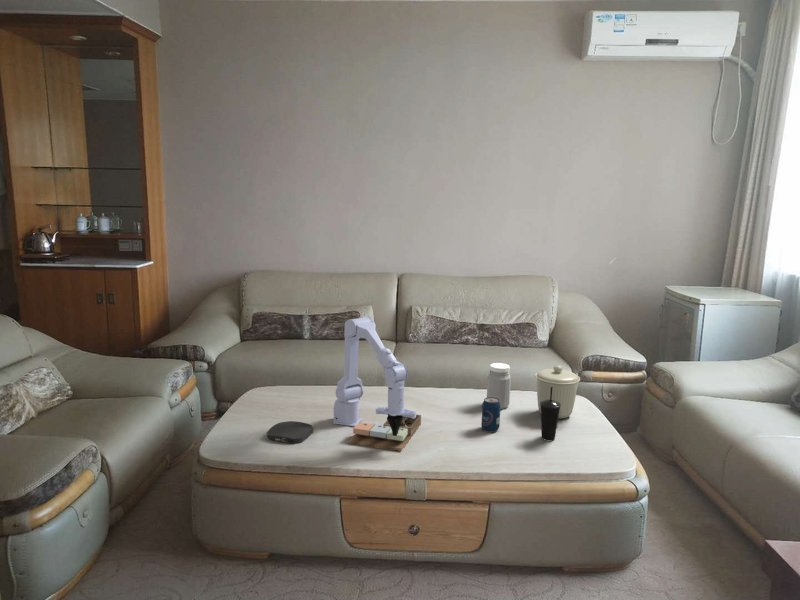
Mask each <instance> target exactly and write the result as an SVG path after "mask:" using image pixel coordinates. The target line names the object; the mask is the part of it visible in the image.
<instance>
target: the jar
mask: <svg viewBox="0 0 800 600" xmlns="http://www.w3.org/2000/svg"><path fill="white" fill-rule="evenodd" d="M510 369H511V366H510V365H509V364H508V363H507V364H506V363H503V362H493V363H491V364H490V365H489V373H488V375H487V383H486V385H487V386H486V387H487V389H486V398H488V397H492V398H497V399H499V402H500V410H503V409H504V410H505V409H506V408H508V407H509V405H510V401H511V380H512V376H511V375H510Z"/></svg>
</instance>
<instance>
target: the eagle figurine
mask: <svg viewBox="0 0 800 600" xmlns="http://www.w3.org/2000/svg"><path fill="white" fill-rule="evenodd" d="M408 418H410V417H404V418H403V420H402V422H401V424H400V426H402V427H408V426H407V423H408V422H407V423H404V421H405V420H407V419H408Z"/></svg>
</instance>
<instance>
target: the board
mask: <svg viewBox="0 0 800 600" xmlns="http://www.w3.org/2000/svg"><path fill="white" fill-rule="evenodd" d="M407 422H408V423H411V424H410V426H409V427H408V426H407V427H402V426H400V427H399V428H405V429H408V434H407V436H406V437H405V439H404V440H403V441H399V440H392V439H387V437H386V438H381V437H374V436H370V435H369V436H367V435H361V434H353V435H352V436H351V437H350V438H349V440H348V444H350V445H353V446H354V445H355V446H356V445H357V446H361V447H367V446H369V448H374V447H376V449H381V448H383V449H382V450H387V449H392V450H391V451H394V450H398V451H397V452H400V451H403V450H404V449H405V447H407V445H408V443H409V442H410V441H411V439H412V438H413V437H414V435H415V433H416V432H417V431H418V429H419V428H420V427H421V425H422V415H421V414H416V418H415V419H413V418H411V417H410V418H408V419H407V420H405V421H404V423H407ZM382 426H389V427H391V426H390V424H389V422H388V420H387V419H386V421H385V422H384V423H383V424H382ZM419 426H420V427H419ZM416 430H417V431H416ZM413 434H414V435H413ZM411 437H412V438H411ZM409 440H410V441H409ZM406 444H407V445H406ZM403 448H404V449H403ZM402 449H403V450H402Z"/></svg>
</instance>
